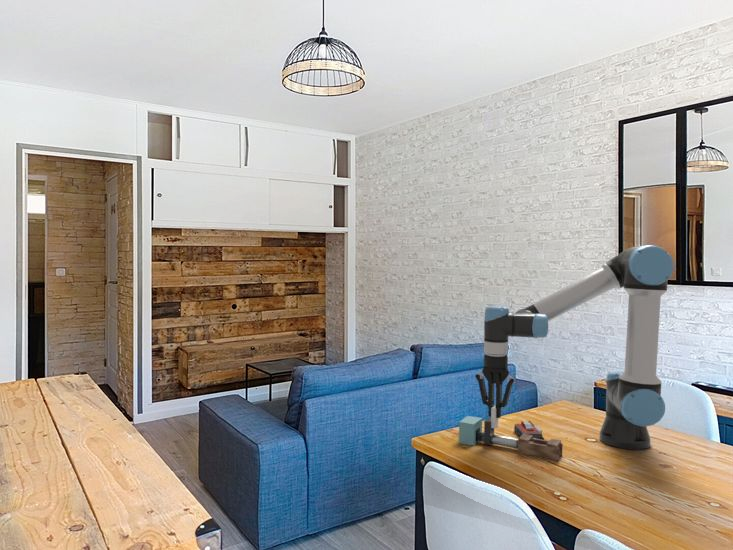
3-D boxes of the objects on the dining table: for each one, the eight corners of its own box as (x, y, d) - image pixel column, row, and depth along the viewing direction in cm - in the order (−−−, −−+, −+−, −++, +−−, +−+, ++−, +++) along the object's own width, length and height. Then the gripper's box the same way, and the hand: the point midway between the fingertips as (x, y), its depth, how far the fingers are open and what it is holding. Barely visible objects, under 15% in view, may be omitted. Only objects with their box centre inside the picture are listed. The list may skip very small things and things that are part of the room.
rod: (534, 449, 167) (534, 425, 166) (531, 453, 163) (531, 429, 163) (473, 437, 177) (473, 415, 177) (469, 441, 174) (469, 418, 173)
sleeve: (562, 455, 163) (562, 440, 163) (558, 461, 158) (558, 445, 158) (523, 448, 169) (523, 433, 169) (518, 453, 164) (518, 438, 164)
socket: (481, 438, 178) (482, 418, 177) (473, 445, 171) (473, 424, 171) (467, 436, 180) (467, 415, 180) (458, 443, 173) (459, 421, 173)
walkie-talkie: (550, 444, 174) (532, 425, 194) (551, 431, 174) (532, 413, 194) (523, 444, 174) (507, 425, 194) (524, 430, 174) (508, 413, 194)
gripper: (519, 354, 170) (517, 427, 171) (480, 350, 177) (478, 420, 178) (512, 358, 164) (511, 434, 164) (472, 354, 171) (471, 426, 171)
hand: (494, 427), depth 171 cm, fingers closed
